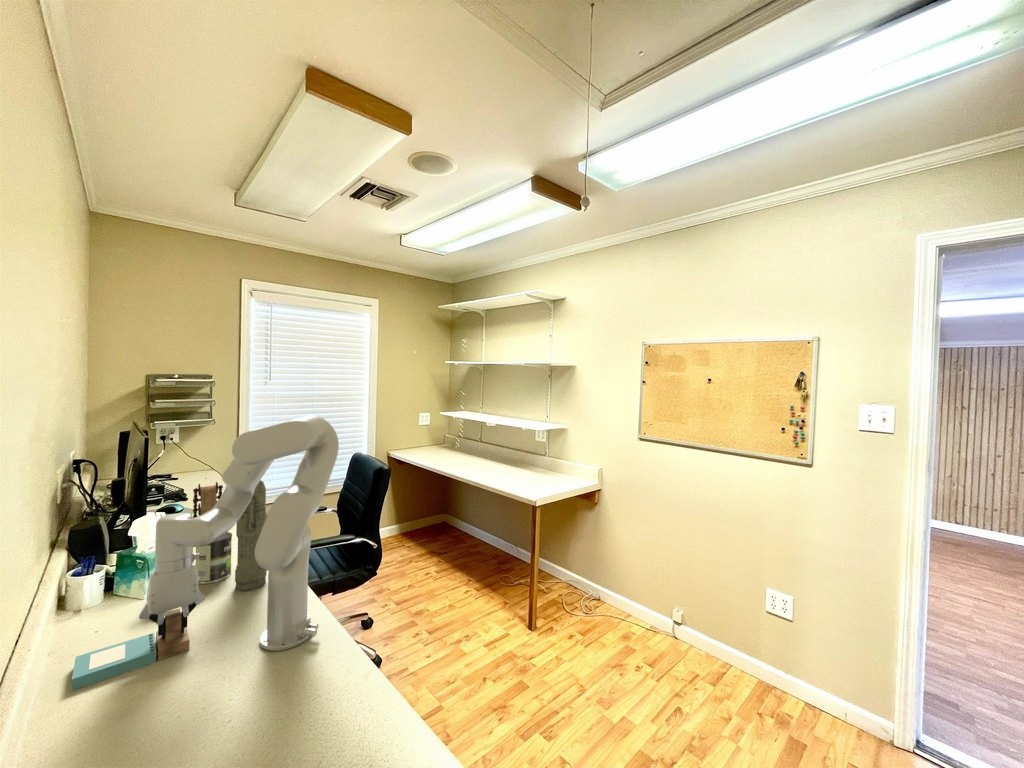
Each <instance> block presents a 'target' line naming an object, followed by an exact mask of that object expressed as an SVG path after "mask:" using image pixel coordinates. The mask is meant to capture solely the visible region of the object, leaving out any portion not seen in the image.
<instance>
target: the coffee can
mask: <svg viewBox="0 0 1024 768" xmlns="http://www.w3.org/2000/svg"><path fill="white" fill-rule="evenodd" d="M232 538H233V533H232V532H230V531H228V532H226V533H225V534H223V535H222V536H220V537H219V538H218V539H216V540H215V541H213V542H212V543H210V544H209V545H207V546H204V547H195V553H196V554H198V553H199V554H200V558H199V559H196V560H195V563H196V567H197V574H198V585H200V584H201V585H207V584H211V583H212V584H213V583H217V582H220V581H222V580H223V581H224V580H226V579H227V578H228V577H230V576H231V575H232V541H233V539H232Z"/></svg>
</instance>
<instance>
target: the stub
mask: <svg viewBox="0 0 1024 768" xmlns="http://www.w3.org/2000/svg"><path fill="white" fill-rule="evenodd" d="M181 612H182V611H181V607H179V608H175V609H172V610H168V611H165V615H164V618H165V622H166V638H165V639H163V640H162V636H161V635H160V636H158V630H157V631H156V632H155V645H156V655H157V660H158V661H161V660H163V659H166V658H169V657H171V656H175V655H178V654H180V653H184V652H187V651H189V650H190V642H191V641H190V636H189V633H188V626H187V627H186V628H184V633H182V634H181V617H182V616H181Z"/></svg>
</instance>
